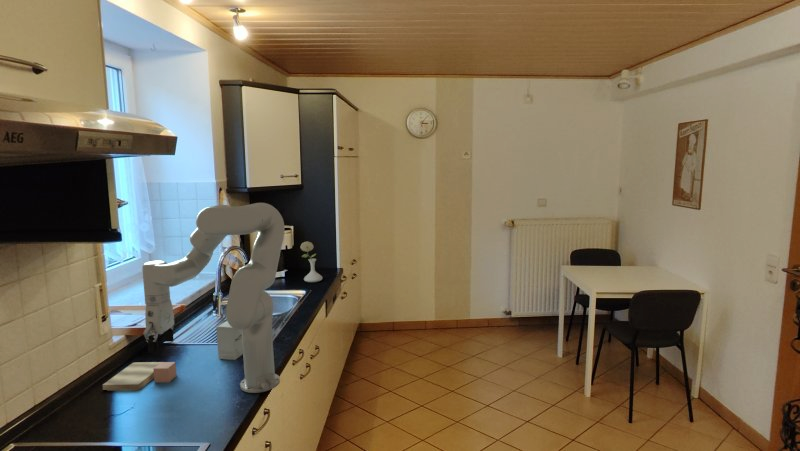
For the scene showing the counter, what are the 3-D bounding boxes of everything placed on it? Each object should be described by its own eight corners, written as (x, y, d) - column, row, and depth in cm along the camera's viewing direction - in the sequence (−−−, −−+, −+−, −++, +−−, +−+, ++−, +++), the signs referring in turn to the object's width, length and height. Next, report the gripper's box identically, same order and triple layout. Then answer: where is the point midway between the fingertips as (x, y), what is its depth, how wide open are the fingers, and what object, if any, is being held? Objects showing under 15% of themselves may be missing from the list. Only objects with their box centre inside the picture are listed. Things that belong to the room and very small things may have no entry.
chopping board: (133, 367, 169) (133, 362, 169) (166, 367, 169) (165, 362, 169) (103, 390, 152) (102, 384, 152) (139, 390, 152) (138, 384, 152)
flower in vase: (325, 279, 292) (323, 239, 289) (319, 283, 281) (317, 242, 278) (305, 278, 294) (302, 239, 291) (298, 283, 283) (296, 243, 280)
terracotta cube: (169, 382, 157) (167, 368, 157) (154, 382, 157) (153, 368, 157) (176, 375, 162) (175, 362, 162) (162, 375, 162) (161, 362, 162)
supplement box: (235, 360, 174) (233, 327, 172) (217, 359, 175) (215, 326, 173) (246, 352, 181) (243, 321, 179) (228, 351, 182) (226, 320, 181)
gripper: (154, 306, 147) (158, 357, 150) (181, 290, 164) (184, 337, 167) (131, 305, 147) (135, 357, 150) (160, 290, 165) (163, 337, 167)
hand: (161, 346), depth 158 cm, fingers open, 9 cm apart
